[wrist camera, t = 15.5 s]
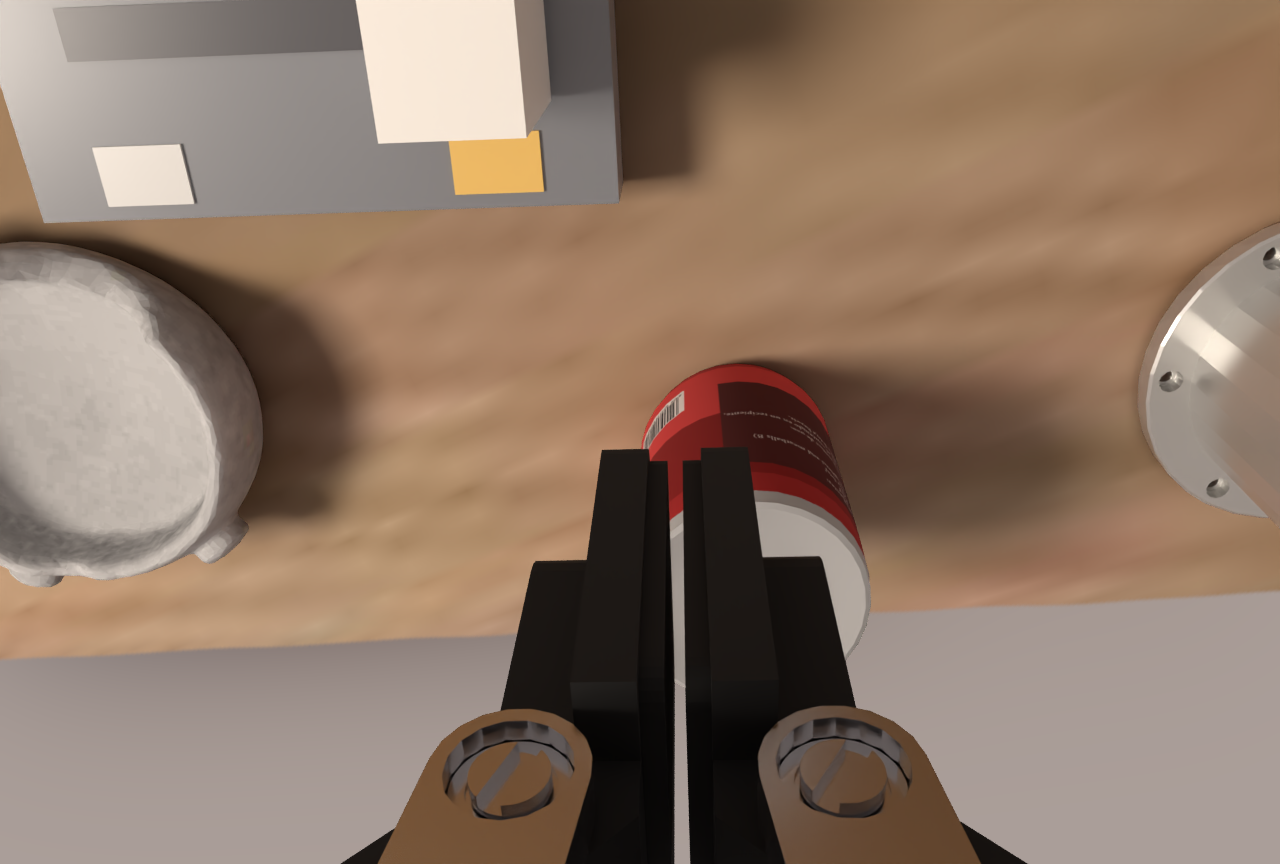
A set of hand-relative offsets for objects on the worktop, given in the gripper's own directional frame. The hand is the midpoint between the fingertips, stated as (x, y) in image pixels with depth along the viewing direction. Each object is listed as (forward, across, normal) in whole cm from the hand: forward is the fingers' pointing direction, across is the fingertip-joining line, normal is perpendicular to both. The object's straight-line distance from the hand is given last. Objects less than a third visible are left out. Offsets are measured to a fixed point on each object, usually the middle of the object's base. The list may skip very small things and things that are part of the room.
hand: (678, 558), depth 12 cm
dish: (+28, +24, +10) cm, 38 cm away
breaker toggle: (+24, +6, -4) cm, 25 cm away
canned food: (+27, -2, +13) cm, 30 cm away
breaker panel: (+27, +12, -4) cm, 30 cm away
